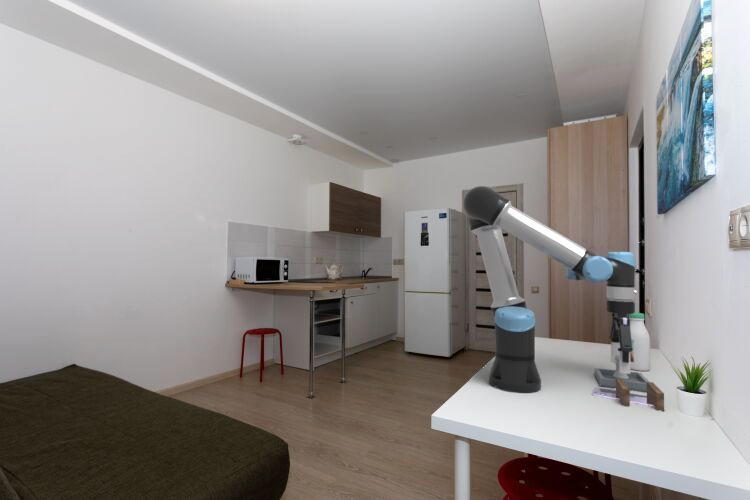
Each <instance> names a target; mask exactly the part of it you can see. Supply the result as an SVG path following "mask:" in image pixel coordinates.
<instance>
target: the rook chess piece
mask: <svg viewBox="0 0 750 500" xmlns="http://www.w3.org/2000/svg"><path fill="white" fill-rule="evenodd" d="M615 360H616V362H615V369H614V370H615V372H614V373H615V374H613V377H614V378H613V379H616V378H618V379H622V380H625V381H629V380H628V379H629V377H628V376H627V374H626V373H620V372H619V355H616V357H615Z"/></svg>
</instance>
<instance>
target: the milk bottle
mask: <svg viewBox="0 0 750 500" xmlns="http://www.w3.org/2000/svg"><path fill="white" fill-rule="evenodd" d="M628 318H630V331H631V341H632V348H633V350H632V351H631V352H630V370H633V371H637V372H638V371H639V372H649V371H650V370H651V338H650V334H649V332H648V330H647V327H646V326H645V322H644V321H645V314H644V313H641V312H635V313H633V314H628Z"/></svg>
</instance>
